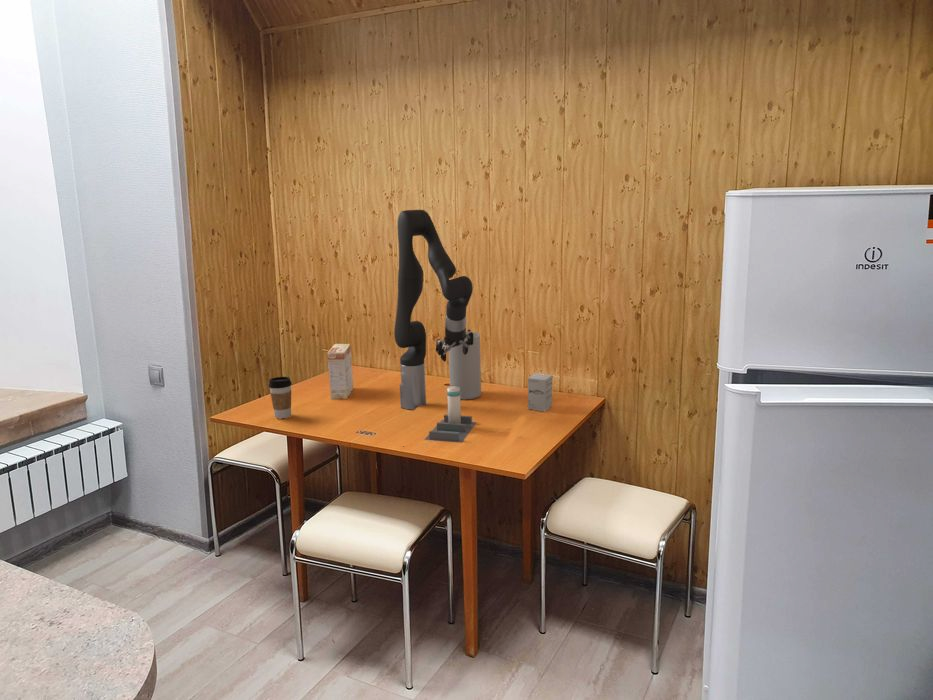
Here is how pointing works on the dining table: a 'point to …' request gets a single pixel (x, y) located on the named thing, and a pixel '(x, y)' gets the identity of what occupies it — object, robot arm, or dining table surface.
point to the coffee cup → (281, 396)
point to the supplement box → (540, 392)
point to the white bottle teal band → (454, 405)
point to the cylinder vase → (466, 369)
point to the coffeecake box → (340, 371)
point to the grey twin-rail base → (451, 430)
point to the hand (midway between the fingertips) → (454, 356)
